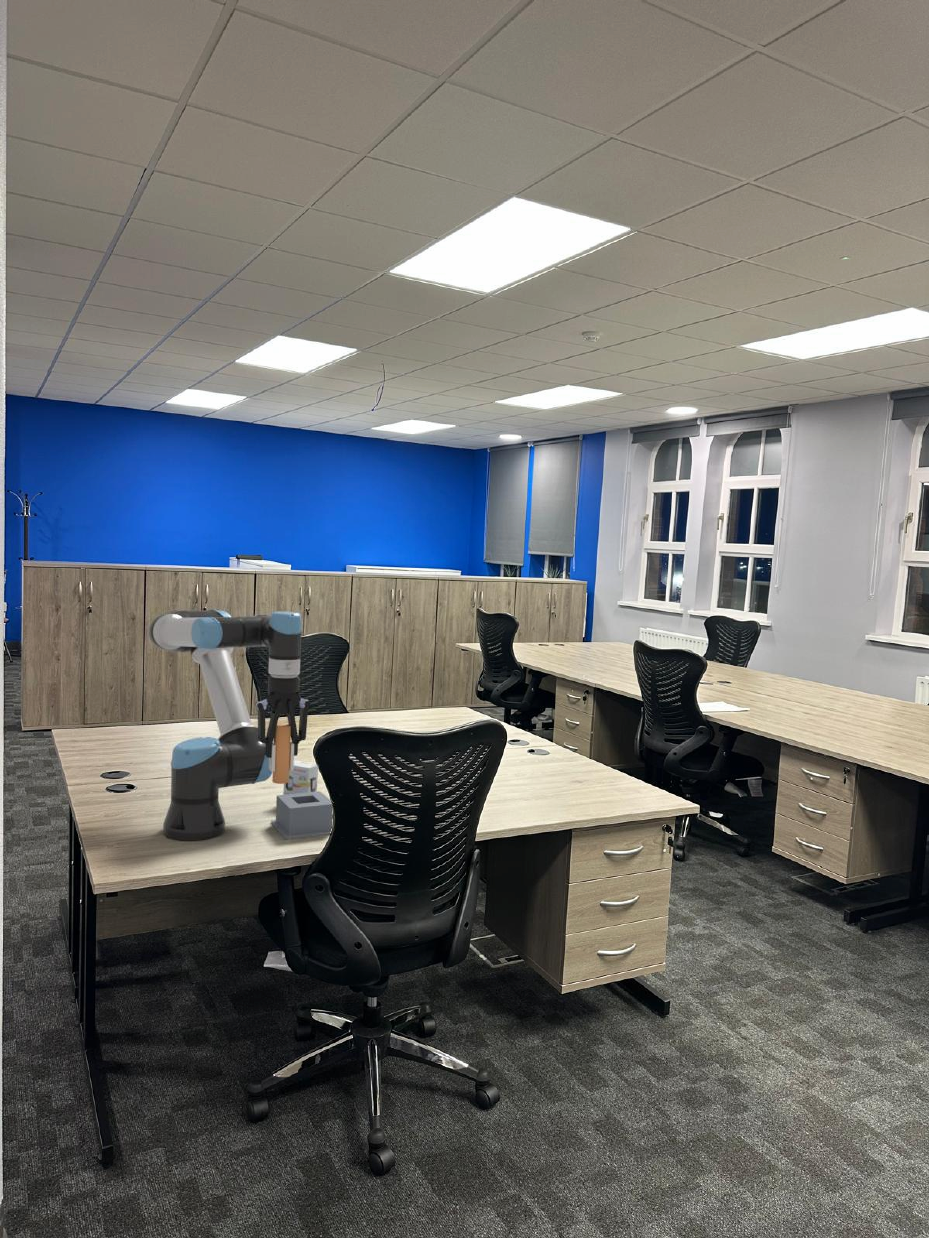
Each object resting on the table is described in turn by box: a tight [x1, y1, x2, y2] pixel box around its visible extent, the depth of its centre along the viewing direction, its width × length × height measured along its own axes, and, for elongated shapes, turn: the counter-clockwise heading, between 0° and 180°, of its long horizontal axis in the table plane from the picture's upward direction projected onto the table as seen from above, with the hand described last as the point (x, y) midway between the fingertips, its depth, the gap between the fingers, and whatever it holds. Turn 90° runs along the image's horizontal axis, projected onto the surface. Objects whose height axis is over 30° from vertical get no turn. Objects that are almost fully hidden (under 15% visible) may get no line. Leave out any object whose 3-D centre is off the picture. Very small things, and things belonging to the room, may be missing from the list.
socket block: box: [270, 790, 333, 840], centre depth 231 cm, size 14×14×8 cm
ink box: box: [282, 759, 319, 795], centre depth 251 cm, size 9×5×12 cm, turn 66°
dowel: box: [271, 723, 291, 785], centre depth 215 cm, size 4×4×14 cm
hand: (281, 769), depth 215 cm, fingers closed on dowel, 4 cm apart
